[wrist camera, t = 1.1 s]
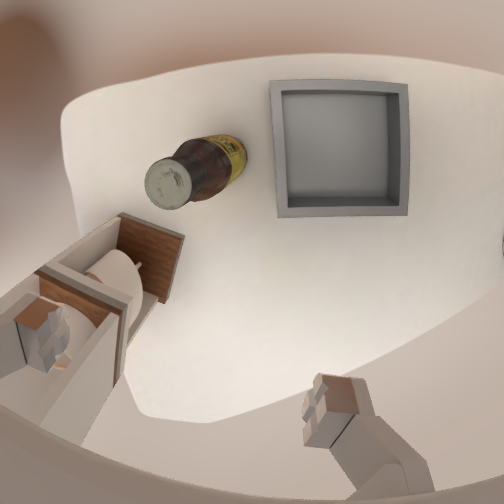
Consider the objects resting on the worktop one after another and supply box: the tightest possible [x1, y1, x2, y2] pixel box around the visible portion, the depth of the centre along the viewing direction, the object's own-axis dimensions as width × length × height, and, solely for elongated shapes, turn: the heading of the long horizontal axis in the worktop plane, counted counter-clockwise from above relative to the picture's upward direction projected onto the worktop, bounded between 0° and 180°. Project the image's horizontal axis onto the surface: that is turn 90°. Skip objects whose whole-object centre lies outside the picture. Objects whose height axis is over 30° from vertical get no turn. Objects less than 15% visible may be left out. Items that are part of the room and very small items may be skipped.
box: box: [269, 79, 410, 218], centre depth 36 cm, size 16×16×6 cm
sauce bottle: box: [145, 135, 247, 210], centre depth 32 cm, size 6×6×20 cm
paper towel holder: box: [0, 213, 185, 446], centre depth 32 cm, size 11×11×35 cm
